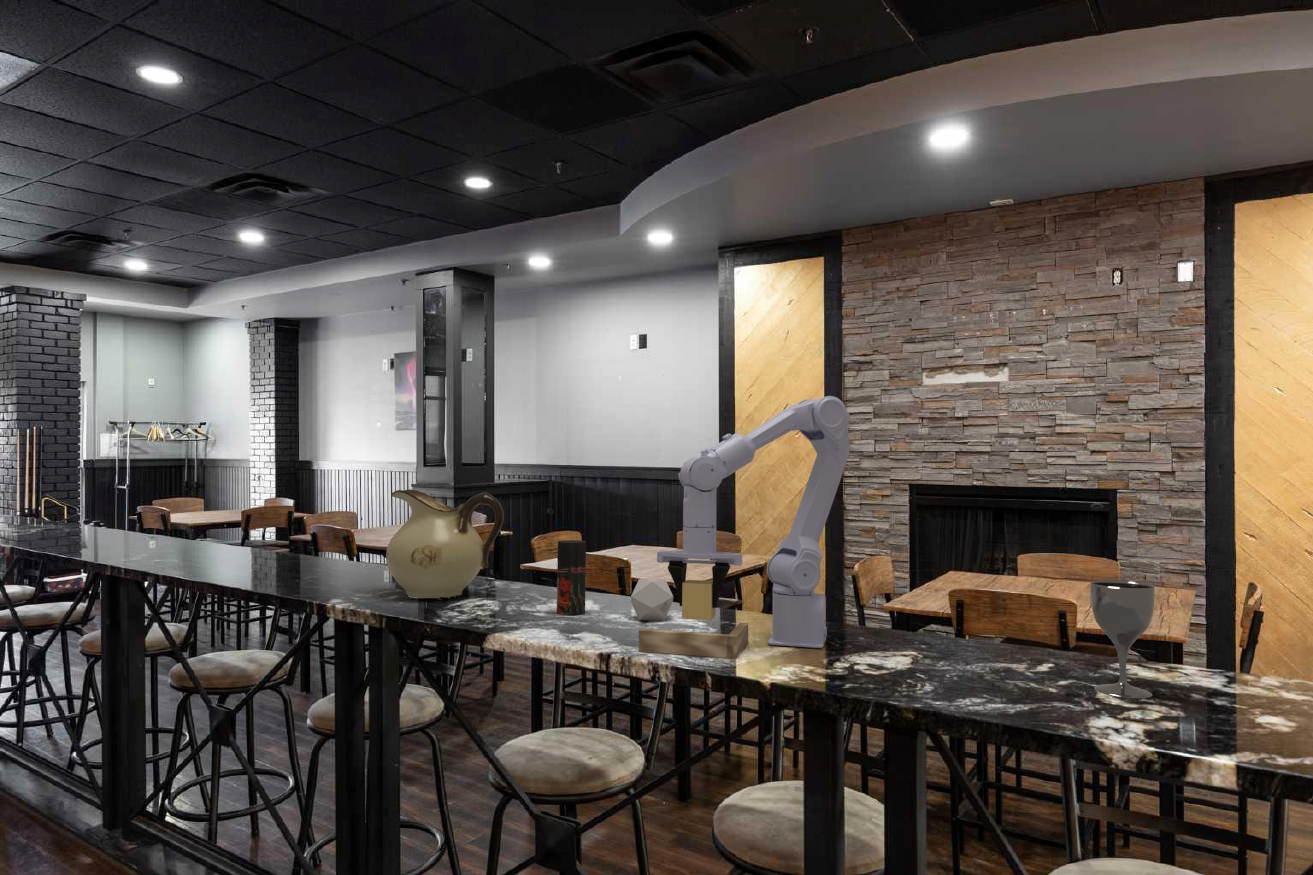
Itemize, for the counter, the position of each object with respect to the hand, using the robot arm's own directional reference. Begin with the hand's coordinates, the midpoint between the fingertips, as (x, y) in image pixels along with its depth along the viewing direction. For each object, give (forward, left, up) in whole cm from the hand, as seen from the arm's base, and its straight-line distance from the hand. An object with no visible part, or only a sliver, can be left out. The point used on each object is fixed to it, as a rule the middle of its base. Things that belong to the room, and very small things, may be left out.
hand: (698, 606), depth 141 cm
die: (+15, -24, -7) cm, 29 cm away
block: (0, 0, -2) cm, 2 cm away
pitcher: (+71, -36, -7) cm, 80 cm away
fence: (+1, 0, -7) cm, 7 cm away
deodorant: (+33, -25, -7) cm, 42 cm away
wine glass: (-63, +8, -7) cm, 64 cm away
